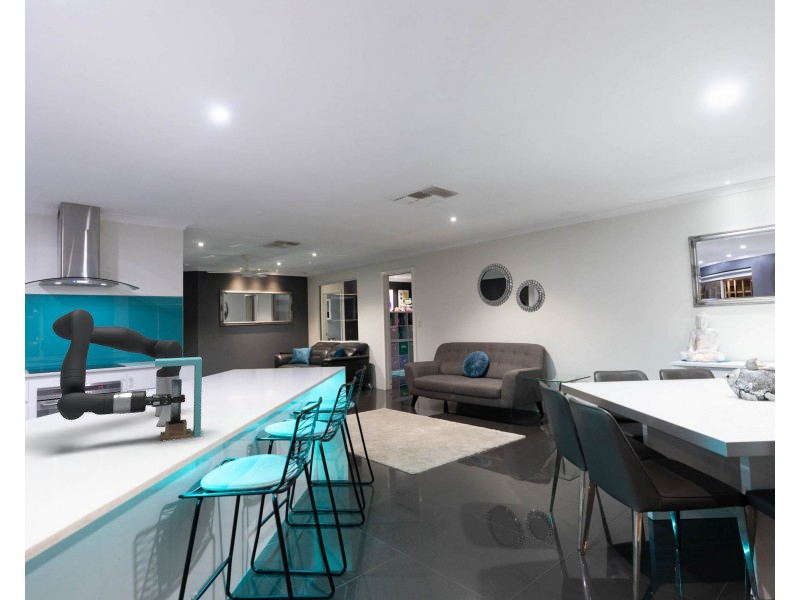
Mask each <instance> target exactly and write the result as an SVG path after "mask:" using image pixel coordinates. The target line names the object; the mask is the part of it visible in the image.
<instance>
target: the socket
mask: <svg viewBox="0 0 800 600" xmlns="http://www.w3.org/2000/svg"><path fill="white" fill-rule="evenodd" d="M187 425H188V421H187V419H186V418H185V419H181V423H177V424H170V421H166V424H165V426H164V427H165V429H164V430H165V431H160V434H159V435H160V436H159V442H164V441H163V440H166V441H173V439H175V440H182V439H181V438H183V439H190V437H191V438H192V435H193V434H192V429H191V428H190V427H189V428H187V427H188V426H187Z"/></svg>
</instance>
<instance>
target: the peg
mask: <svg viewBox="0 0 800 600" xmlns="http://www.w3.org/2000/svg"><path fill="white" fill-rule="evenodd" d="M182 385H183V379H182V378H179V379H173V380H171V396H172V397H177V396H181V395H182V391H183V389H182V387H183V386H182ZM181 418H182V403H174V402H173V404H171V411H170V424H177V423H181V420H182V419H181Z"/></svg>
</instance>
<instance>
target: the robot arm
mask: <svg viewBox="0 0 800 600" xmlns="http://www.w3.org/2000/svg"><path fill="white" fill-rule="evenodd" d="M51 328H52V331H53V332H54V334H55V335H57V337H59V338H61V339H64V340H67V341H70V342H69V343H70V344H69V347H68V350H67V352H66V354H65V356H64V358H63V360H62V364H61V366H60V376H59V388H60V392H61V397H60V398H59V399H58V401H57V403H56V409H57V410H58V412H59V414H60V416H61V417H62V418H63V419H64V420H68V421H73V420H74V421H75V420H78V419H80V418H81V417H82V416H83V415H84V414H85V413H93V414H95V415H98V416H103V415H104V416H105V415H124V414H136V413H137V414H138V413H145V412H146V409H147V408H146V407H147V406H148V407H149V406H151V407H152V408H155V416H156V417H160V416H161V413H162V410H163V406H166V405H171V404H173V402H174V403H181V404H182V403H185V402H186V395H185V393H184V394H182V393H181V396H177V397H172V396H171V380H173V379H180V372H181V369H182V366H164V367H160V368H159V369H157V370H156V373H155V374H156V375H155V393H153V394H152V395H149V396H148V395H147V391H146V390H132V391H120V392H115V393H113V392H112V393H101V394H100V393H91V392H89V393H88V392H86V381H87V377H86V375H87V362H88V361H87V360H88V354H89V349H90V345H91V344H93V345H97V346H100V347H101V346H102V347H106V348H111V349H115V350H118V351H122V352H127V353H131V354H139V355H140V354H141V355H145V356H147V357H150V358H153V359H154V360H156V359H168V358H183V353H184V352H183V346H182V344H181V343H180V342H179V340H168V339H165V340H164V339H163V340H162V339H154V338H150V337H146V336H145V335H143V334H142V333H141V332H140V331H137V330H135V329H133V328H129V327H124V326H118V325H109V326H108V325H107V326H106V325H105V326H98V325H97V326H95V320H94V317H93V315H92V314H91V313H90V312H89V311H88V310H86V309H83V308H77V309H74V310H71V311H69V312H67V313H65V314H64V315H61V316H60V317H58V318H57V319H56V320H55V321H53V323H52V326H51Z"/></svg>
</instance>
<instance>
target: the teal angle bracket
mask: <svg viewBox="0 0 800 600" xmlns="http://www.w3.org/2000/svg"><path fill="white" fill-rule="evenodd" d="M154 360H155V361H154V367H155V368H162V367H164V366H181V367H182V366H194V369H193V370H194V374H193V376H194V377H193V379H194V380H193V424H192V425H193V435H194V436H193V437H195V438H197V437H201V436H202V392H203V391H202V384H203V383H202V380H203V379H202V378H203V375H202V374H203V372H202V371H203V358H202V357H201V356H196V357H195V356H194V357H182V358H168V359H154Z"/></svg>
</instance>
